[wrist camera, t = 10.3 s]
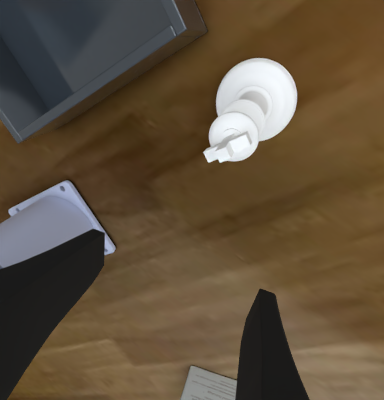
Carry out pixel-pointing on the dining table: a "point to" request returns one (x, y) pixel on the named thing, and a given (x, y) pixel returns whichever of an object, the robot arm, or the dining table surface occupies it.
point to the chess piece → (250, 108)
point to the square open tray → (81, 54)
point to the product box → (208, 386)
